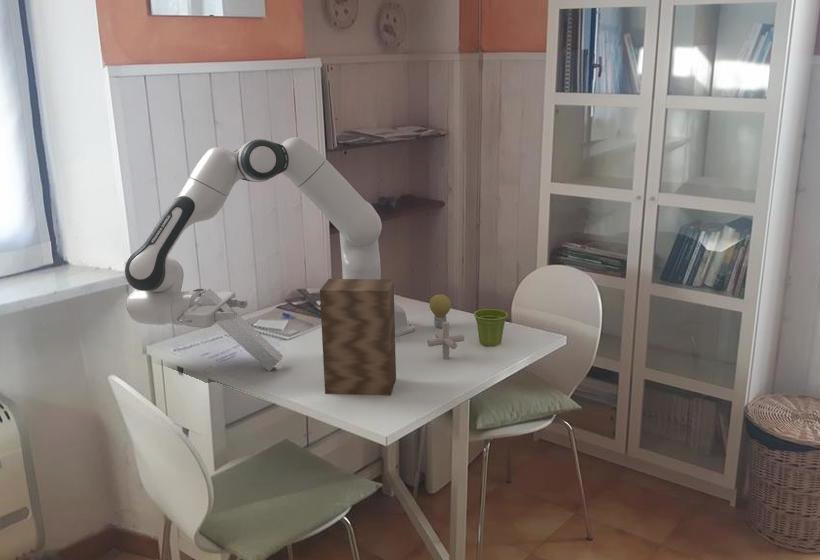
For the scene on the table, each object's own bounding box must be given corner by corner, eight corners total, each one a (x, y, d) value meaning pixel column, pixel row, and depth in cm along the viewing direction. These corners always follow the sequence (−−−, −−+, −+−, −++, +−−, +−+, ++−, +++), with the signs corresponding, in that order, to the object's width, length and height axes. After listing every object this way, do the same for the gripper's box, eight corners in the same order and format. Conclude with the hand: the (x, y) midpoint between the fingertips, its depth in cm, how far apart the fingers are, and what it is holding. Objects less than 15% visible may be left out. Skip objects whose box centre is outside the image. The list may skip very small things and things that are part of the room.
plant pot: (488, 335, 226) (488, 306, 223) (514, 342, 219) (514, 313, 217) (466, 343, 219) (466, 314, 217) (492, 351, 213) (493, 321, 210)
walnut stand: (325, 393, 187) (319, 290, 180) (333, 377, 197) (328, 278, 190) (390, 395, 186) (387, 291, 179) (396, 379, 195) (393, 279, 188)
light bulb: (435, 331, 230) (435, 299, 227) (426, 325, 235) (425, 293, 233) (454, 328, 232) (454, 296, 229) (445, 322, 238) (444, 290, 235)
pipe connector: (437, 367, 202) (436, 331, 200) (421, 355, 211) (420, 320, 208) (471, 361, 206) (471, 325, 203) (454, 349, 215) (454, 314, 212)
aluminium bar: (194, 303, 199) (204, 292, 198) (200, 298, 203) (209, 288, 202) (269, 371, 202) (279, 361, 200) (273, 366, 205) (283, 356, 204)
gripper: (172, 309, 191) (226, 310, 189) (202, 286, 211) (252, 287, 209) (174, 333, 193) (228, 334, 191) (204, 308, 212) (253, 309, 211)
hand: (241, 309), depth 200 cm, fingers open, 8 cm apart
